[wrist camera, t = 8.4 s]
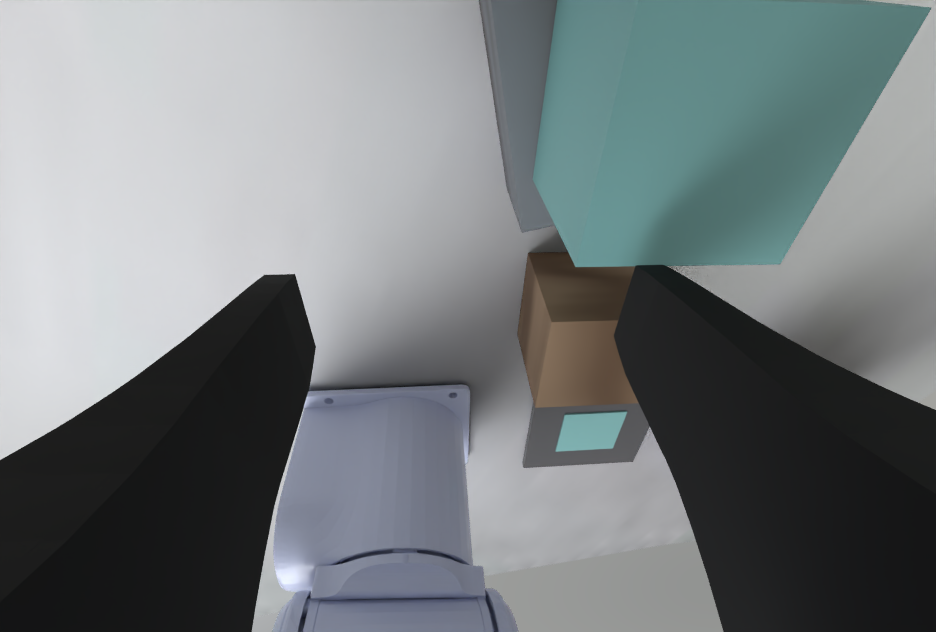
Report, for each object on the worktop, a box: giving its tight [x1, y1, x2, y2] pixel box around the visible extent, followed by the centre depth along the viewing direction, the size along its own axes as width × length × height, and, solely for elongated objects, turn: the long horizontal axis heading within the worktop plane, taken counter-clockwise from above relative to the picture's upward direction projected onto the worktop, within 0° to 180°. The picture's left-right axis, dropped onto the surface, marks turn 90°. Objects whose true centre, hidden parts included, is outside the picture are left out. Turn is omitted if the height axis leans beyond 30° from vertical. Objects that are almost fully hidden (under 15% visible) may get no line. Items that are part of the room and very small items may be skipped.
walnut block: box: [517, 252, 638, 408], centre depth 20 cm, size 5×5×5 cm
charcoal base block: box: [479, 0, 557, 232], centre depth 14 cm, size 7×7×4 cm
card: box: [523, 402, 649, 468], centre depth 29 cm, size 8×8×1 cm
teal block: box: [533, 0, 931, 267], centre depth 10 cm, size 5×5×5 cm
